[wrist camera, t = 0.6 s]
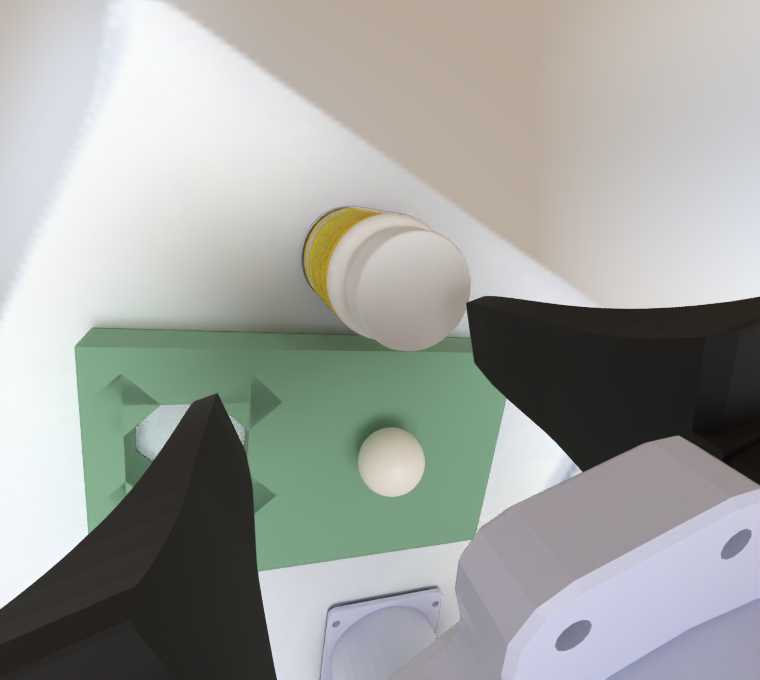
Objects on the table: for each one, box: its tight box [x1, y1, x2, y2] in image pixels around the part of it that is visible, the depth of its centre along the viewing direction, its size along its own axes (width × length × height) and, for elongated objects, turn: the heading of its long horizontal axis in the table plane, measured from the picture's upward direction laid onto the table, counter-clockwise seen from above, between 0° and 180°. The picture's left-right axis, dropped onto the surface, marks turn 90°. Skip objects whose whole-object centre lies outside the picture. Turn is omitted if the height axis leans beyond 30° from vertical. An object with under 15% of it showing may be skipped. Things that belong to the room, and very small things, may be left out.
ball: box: [358, 427, 425, 497], centre depth 21 cm, size 3×3×3 cm
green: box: [75, 328, 506, 571], centre depth 23 cm, size 12×20×2 cm, turn 82°
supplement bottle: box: [301, 206, 470, 351], centre depth 18 cm, size 5×5×8 cm
